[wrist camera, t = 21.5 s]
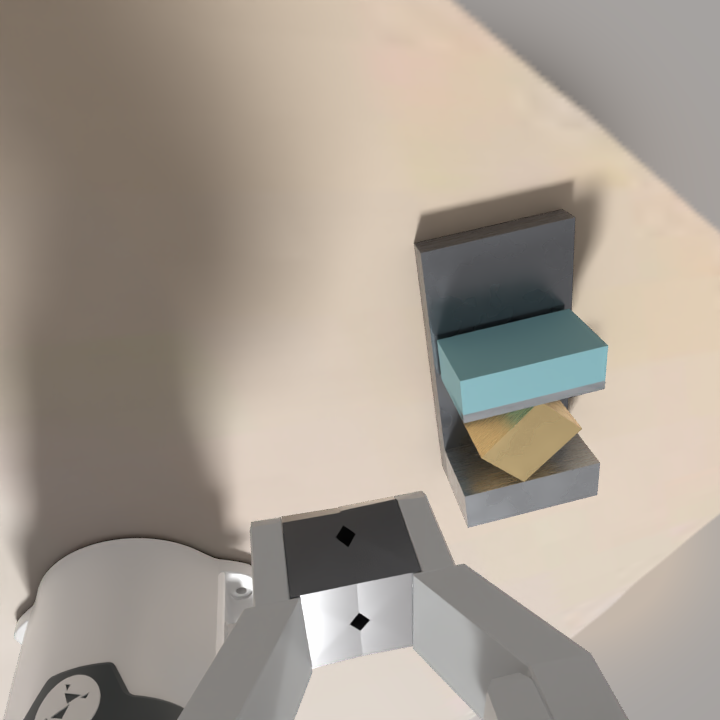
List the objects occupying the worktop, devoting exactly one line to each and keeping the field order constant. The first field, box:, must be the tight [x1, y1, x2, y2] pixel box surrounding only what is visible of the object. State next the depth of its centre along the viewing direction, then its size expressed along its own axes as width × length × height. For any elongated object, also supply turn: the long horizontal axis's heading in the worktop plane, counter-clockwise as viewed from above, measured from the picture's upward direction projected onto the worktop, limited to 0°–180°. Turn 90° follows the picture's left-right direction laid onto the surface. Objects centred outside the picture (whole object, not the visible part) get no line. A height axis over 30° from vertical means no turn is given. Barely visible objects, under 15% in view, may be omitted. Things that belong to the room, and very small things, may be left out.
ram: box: [437, 309, 608, 423], centre depth 34 cm, size 3×8×4 cm, turn 100°
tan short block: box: [464, 400, 582, 482], centre depth 36 cm, size 5×4×4 cm
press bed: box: [414, 209, 600, 528], centre depth 35 cm, size 18×9×6 cm, turn 10°
